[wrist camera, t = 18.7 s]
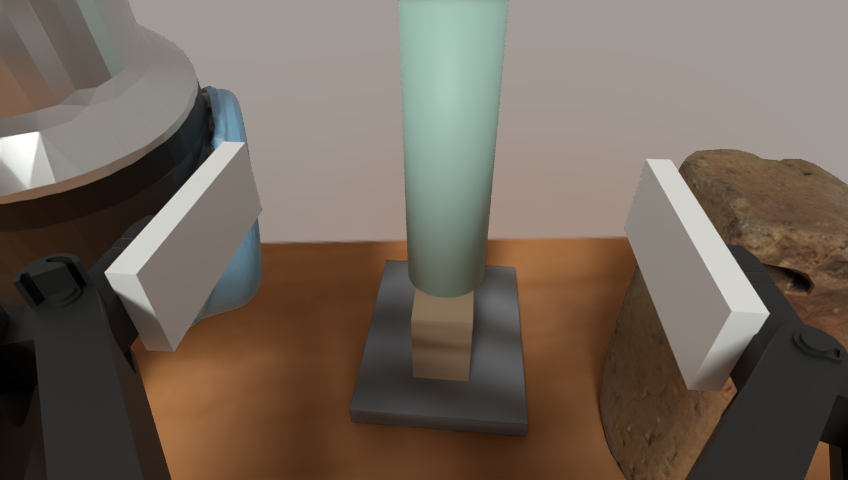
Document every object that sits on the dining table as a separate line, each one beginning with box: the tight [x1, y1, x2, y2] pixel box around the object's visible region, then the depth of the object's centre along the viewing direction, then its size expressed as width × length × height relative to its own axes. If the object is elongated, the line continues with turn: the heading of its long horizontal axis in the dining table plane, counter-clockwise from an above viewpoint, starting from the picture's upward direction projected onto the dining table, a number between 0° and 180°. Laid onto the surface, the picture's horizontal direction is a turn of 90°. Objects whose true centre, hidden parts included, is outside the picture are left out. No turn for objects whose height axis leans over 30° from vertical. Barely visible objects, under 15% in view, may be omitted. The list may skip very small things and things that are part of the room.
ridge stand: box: [350, 260, 528, 436], centre depth 37 cm, size 16×12×8 cm
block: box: [599, 149, 848, 480], centre depth 26 cm, size 11×8×20 cm
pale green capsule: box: [399, 0, 509, 298], centre depth 30 cm, size 6×6×18 cm
